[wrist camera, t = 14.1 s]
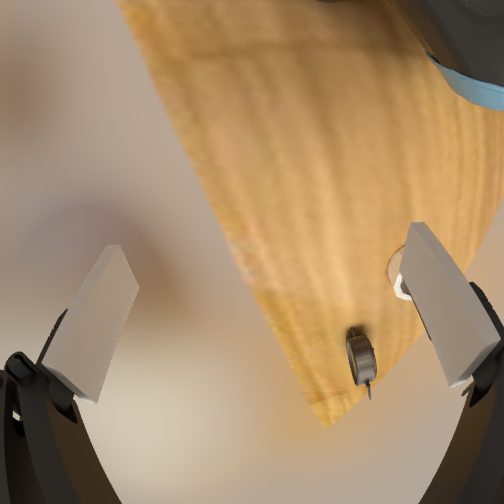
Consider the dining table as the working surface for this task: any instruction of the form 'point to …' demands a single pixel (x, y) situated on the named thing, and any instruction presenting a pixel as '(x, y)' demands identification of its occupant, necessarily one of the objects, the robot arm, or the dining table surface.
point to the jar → (397, 275)
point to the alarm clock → (361, 360)
